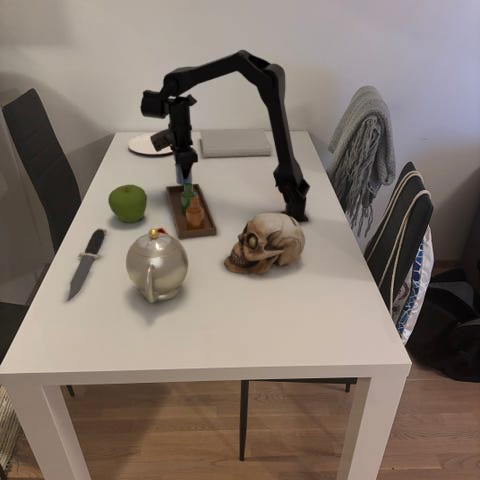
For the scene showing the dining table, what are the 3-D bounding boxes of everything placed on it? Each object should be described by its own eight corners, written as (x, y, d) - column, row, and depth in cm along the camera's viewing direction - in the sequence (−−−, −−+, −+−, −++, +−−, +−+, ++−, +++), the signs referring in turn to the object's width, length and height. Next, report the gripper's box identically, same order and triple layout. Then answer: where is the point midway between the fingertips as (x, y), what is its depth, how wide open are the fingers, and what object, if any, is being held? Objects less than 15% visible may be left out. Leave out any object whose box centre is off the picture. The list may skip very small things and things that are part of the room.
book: (200, 130, 180) (262, 128, 183) (200, 140, 183) (262, 138, 185) (203, 148, 167) (270, 146, 169) (203, 159, 169) (270, 156, 171)
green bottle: (199, 215, 137) (198, 187, 131) (183, 217, 136) (181, 189, 130) (197, 207, 140) (195, 180, 135) (180, 209, 139) (178, 181, 134)
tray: (216, 234, 130) (216, 228, 128) (179, 239, 128) (178, 232, 127) (198, 189, 150) (198, 183, 149) (166, 192, 149) (165, 186, 147)
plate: (119, 154, 171) (118, 149, 170) (141, 134, 186) (141, 130, 185) (173, 160, 167) (173, 155, 166) (192, 139, 183) (192, 135, 182)
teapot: (138, 271, 116) (129, 211, 106) (194, 273, 116) (190, 213, 105) (120, 319, 103) (107, 255, 92) (183, 322, 102) (177, 258, 92)
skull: (218, 264, 118) (222, 215, 110) (260, 243, 130) (267, 196, 122) (268, 291, 111) (277, 240, 103) (307, 266, 123) (318, 218, 115)
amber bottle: (206, 231, 130) (204, 203, 124) (188, 233, 129) (186, 205, 123) (202, 223, 133) (201, 195, 128) (185, 225, 132) (183, 196, 127)
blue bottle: (193, 184, 140) (192, 156, 135) (177, 185, 139) (175, 157, 134) (191, 177, 144) (189, 149, 138) (175, 179, 143) (172, 151, 137)
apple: (129, 207, 141) (124, 175, 135) (157, 216, 137) (153, 183, 131) (104, 222, 134) (97, 189, 128) (132, 232, 130) (127, 199, 124)
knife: (110, 233, 130) (91, 230, 129) (110, 228, 128) (91, 225, 128) (80, 305, 108) (57, 302, 108) (79, 299, 107) (57, 296, 106)
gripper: (147, 111, 135) (153, 165, 146) (154, 134, 122) (160, 191, 132) (186, 109, 138) (189, 161, 148) (196, 131, 124) (199, 187, 134)
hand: (184, 175), depth 140 cm, fingers closed on blue bottle, 5 cm apart
